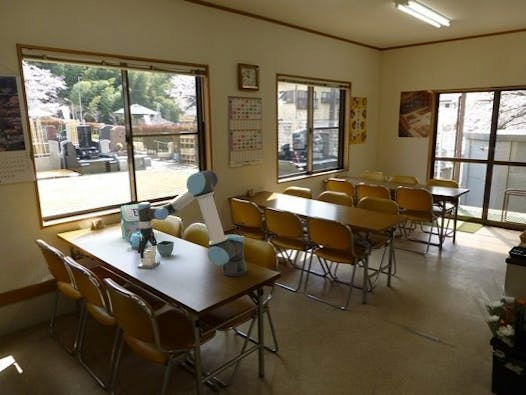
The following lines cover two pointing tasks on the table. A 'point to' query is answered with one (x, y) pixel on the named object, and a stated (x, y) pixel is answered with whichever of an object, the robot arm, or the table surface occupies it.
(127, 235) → the lunch bag
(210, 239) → the robot arm
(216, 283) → the table surface
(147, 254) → the knob
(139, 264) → the hub
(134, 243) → the teapot
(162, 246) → the flower pot
